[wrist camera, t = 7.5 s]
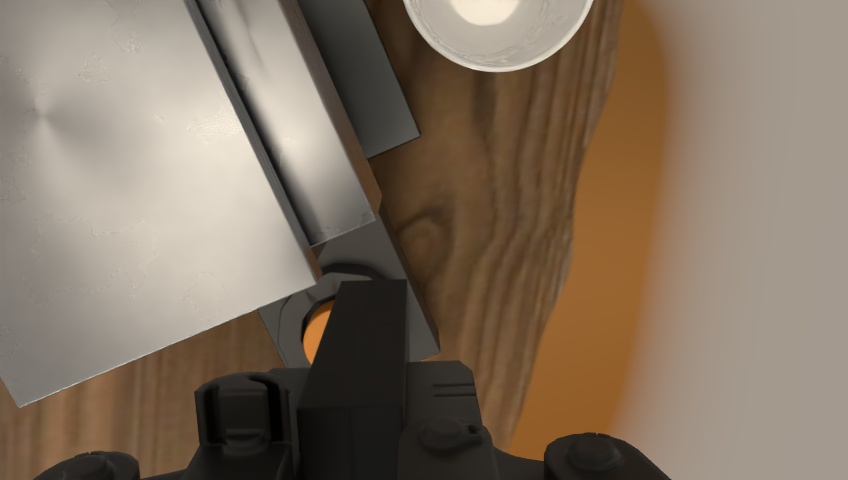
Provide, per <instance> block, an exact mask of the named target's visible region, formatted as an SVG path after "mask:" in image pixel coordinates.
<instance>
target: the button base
mask: <svg viewBox="0 0 848 480" xmlns="http://www.w3.org/2000/svg"><path fill="white" fill-rule="evenodd" d="M317 262H318V264H319V266H320V268H321V270H322V276H321V278H320V280H319V282H318V284H317V285H314V286H312V287H309V288H307V289H305V290H302V291H300V292H297V293H295V294H293V295H290V296H288V297H285V298H283V299H281V300H278V301H276V302H273V303H271V304H269V305H266V306H264V307H261V308H259V309H257V310H258V312H259V314H260V316H261V318H262V321H263V323H264V325H265V327H266V329H267V331H268V333H269V335H270V337H271V339H272V341H273V343H274V345H275V347H276V349H277V351H278V353H279V355H280V357H281V359H282V361H283V363H284V365H285V367H286V368H302V367H311V365H312V364H311V363H310V362H309V360H308V359H307V357H306V354H305V351H304V346H303V339H304V334H305V331H306V328H307V326H308V324H309V321H310V319H311V317H312V315H313V314H314V312H315V311H316V310H317V309H318V308H319V307H320V306H322V305H323V304H325V303H327V302H329V301H332V300H335V298H336V295H337V292H338V290H339V287H340V284H341V281H357V280H390V279H407V287H408V316H409V345H410V362H417V361H420V360H422V359H425V358H427V357H430V356H432V355H435V354H437V353H440V341H439V332H438V329H437V327H436V325H435V322H434V320H433V318H432V316H431V313H430V311H429V309H428V307H427V304H426V302H425V300H424V298H423V295H422V293H421V291H420V289H419V286H418V284H417V282H416V279H415V277H414V275H413V273H412V270H411V268H410V266H409V264H408V261H407V259H406V257H405V255H404V252H403V250H402V248H401V246H400V243H399V241H398V239H397V236H396V234H395V232H394V230H393V227H392V225H391V223H390V221H389V218H388V216H387V214H386V212H385V209H384V207H383V205H382V203H380V207H379V211H378V214H377V218H376V220H375V221H373V222H371V223H368V224H366V225H364V226H361V227H359V228H356V229H354V230H352V231H349V232H347V233H345V234H342V235H340V236H337V237H335V238H333V239H330V240H328V241H327V243H326V245H325V247H324V249H323V251H322V252H321V254H320V256H319V258H318V260H317Z"/></svg>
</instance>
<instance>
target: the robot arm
mask: <svg viewBox="0 0 848 480" xmlns="http://www.w3.org/2000/svg"><path fill="white" fill-rule="evenodd" d="M194 394H195V404H196V413H197V423H198V432H199V442H200V446H199V448H198V450H197V451H196V453H195V455H194V457H193V458H192V460H191V462H190V463H189V465H188V467H187V468H186V469H184V470H180V471H176V472H172V473H168V474H163V475H158V476H153V477H148V478H143V479H140V471H139V463H138V461H137V460H136V459H135V458H134V457H133V456H131V455H129V454H125V453H121V452H104V451H94V452H91V454H89V452H87V453H83V454H79V455H77V456H75V457H74V458H71V459H68V460H66V461H63V462H60V463H58V464H57V465H55V466H53V467H51V468H49V469H48V470H46V471H44V472H43V473H41V474H40V475H39V476H37V477H36V478H35V479H33V480H671V479H670V478H669V477H668V476H667V475H666V474H664V473H663V472H662V471H661V470H660V469H659V468H658V467H657V466H655V464H653V463H652V462H651V461H650V460H649V459H648V458H647V457H646V456H645V455H644V454H642V453H641V452H640V451H639V450H638V449H636V448H635V447H633V446H632V445H630V444H628V443H627V442H625V441H623V440H619V439H616V438H613V437H610V436H609V435H606V434H600V433H598V434H596V433H589V432H587V433H583V434H573V435H568V436H565V437H561V438H558V439H556V440H555V441H553V442H552V443H550V444H549V445H548V446H547V448H546V451H545V453H544V461H538V460H531V459H526V458H521V457H516V456H513V455H510V454H507V453H505V452H502V451H501V450H499V449H497V448H495V447H494V446H493V443H492V438H491V435H490V433H489V432H488V430H487V428H486V427H484V426H483V425H482V419H481V414H480V409H479V404H478V399H477V395H476V389H475V385H474V379H473V373H472V371H471V370H470V369H469V368H468V367H466V366H465V365H464V364H463V363H461V362H460V361H428V362H410V345H409V316H408V287H407V279H390V280H357V281H341V284H340V287H339V290H338V292H337V295H336V298H335V301H334V304H333V306H332V309H331V312H330V315H329V318H328V320H327V323H326V326H325V329H324V332H323V334H322V337H321V340H320V343H319V346H318V349H317V351H316V354H315V357H314V360H313V363H312V365H311V367H302V368H273V369H271V370H270V371H269V372H267V373H263V372H246V373H237V374H231V375H227V376H223V377H219V378H216V379H214V380H212V381H209V382H207V383H205V384H203V385H202V386H201V387H199V388H198V389H197V390H196V391H195V392H194Z"/></svg>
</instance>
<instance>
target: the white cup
mask: <svg viewBox="0 0 848 480" xmlns="http://www.w3.org/2000/svg"><path fill="white" fill-rule="evenodd" d="M403 2H404V5H405V7H406V10H407V12H408V15H409V17H410V19H411V20H412V22H413V24H414V26H415V27H416V29H417V30H418V32H419V33H420V34H421V35H422V37H423V38H424V39H425V41H426V42H427V43H428V44H429V45H430V46H431V47H432V48H433V49H434V50H435V51H437V52H438V53H439V54H441V55H442V56H444V57H446V58H447V59H449V60H451V61H453V62H455V63H457V64H459V65H462V66H465V67H467V68H471V69H475V70H479V71H486V72H507V71H514V70H519V69H523V68H526V67H529V66H532V65H534V64H536V63H539V62H541V61H543V60H544V59H546V58H548V57H549V56H551V55H552V54H554V53H555V52H557V51H558V50H559V49H560V48H561V47H563V46H564V45H565V44H566V43H567V42H568V41H569V40H570V39H571V38H572V36H573V35H574V34H575V33H576V31H577V30H578V29H579V27H580V26H581V24H582V23H583V21H584V19H585V18H586V16H587V14H588V12H589V9H590V7H591V5H592V2H593V0H403Z"/></svg>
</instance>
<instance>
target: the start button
mask: <svg viewBox="0 0 848 480" xmlns="http://www.w3.org/2000/svg"><path fill="white" fill-rule="evenodd" d="M334 301H335V300H332V301H329V302H327V303H325V304H323V305H322V306H320V307H319V308H318V309H317V310H316V311H315V312H314V314H313V315H312V317H311V319H310V321H309V324H308V326H307V328H306V331H305V334H304V339H303V346H304V351H305V354H306V357H307V359H308V360H309V362H310V363H311V364H312V363H313V360H314V357H315V354H316V351H317V349H318V346H319V343H320V340H321V337H322V334H323V332H324V329H325V326H326V323H327V320H328V318H329V315H330V312H331V309H332V306H333V304H334Z"/></svg>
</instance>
